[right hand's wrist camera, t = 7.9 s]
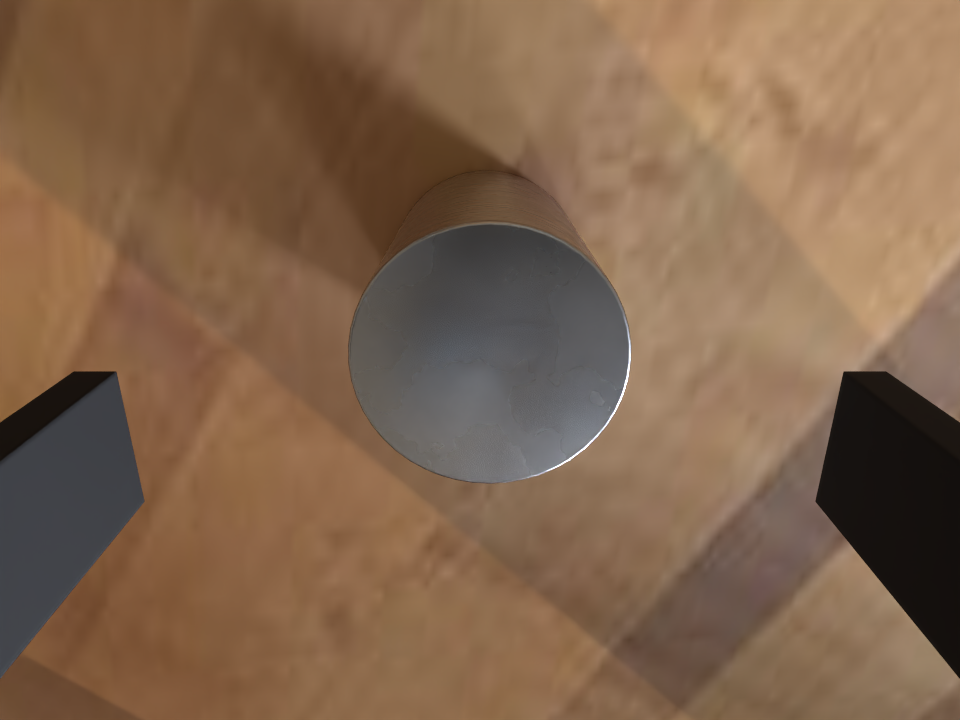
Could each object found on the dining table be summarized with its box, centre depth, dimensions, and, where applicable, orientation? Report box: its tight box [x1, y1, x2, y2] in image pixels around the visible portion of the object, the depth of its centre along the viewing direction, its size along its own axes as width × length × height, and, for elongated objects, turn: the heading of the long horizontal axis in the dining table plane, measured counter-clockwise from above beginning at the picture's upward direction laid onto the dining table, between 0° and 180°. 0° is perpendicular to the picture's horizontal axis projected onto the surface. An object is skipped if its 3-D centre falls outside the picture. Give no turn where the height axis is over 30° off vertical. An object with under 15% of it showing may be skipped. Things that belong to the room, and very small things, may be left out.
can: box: [348, 171, 631, 483], centre depth 19 cm, size 6×6×9 cm
